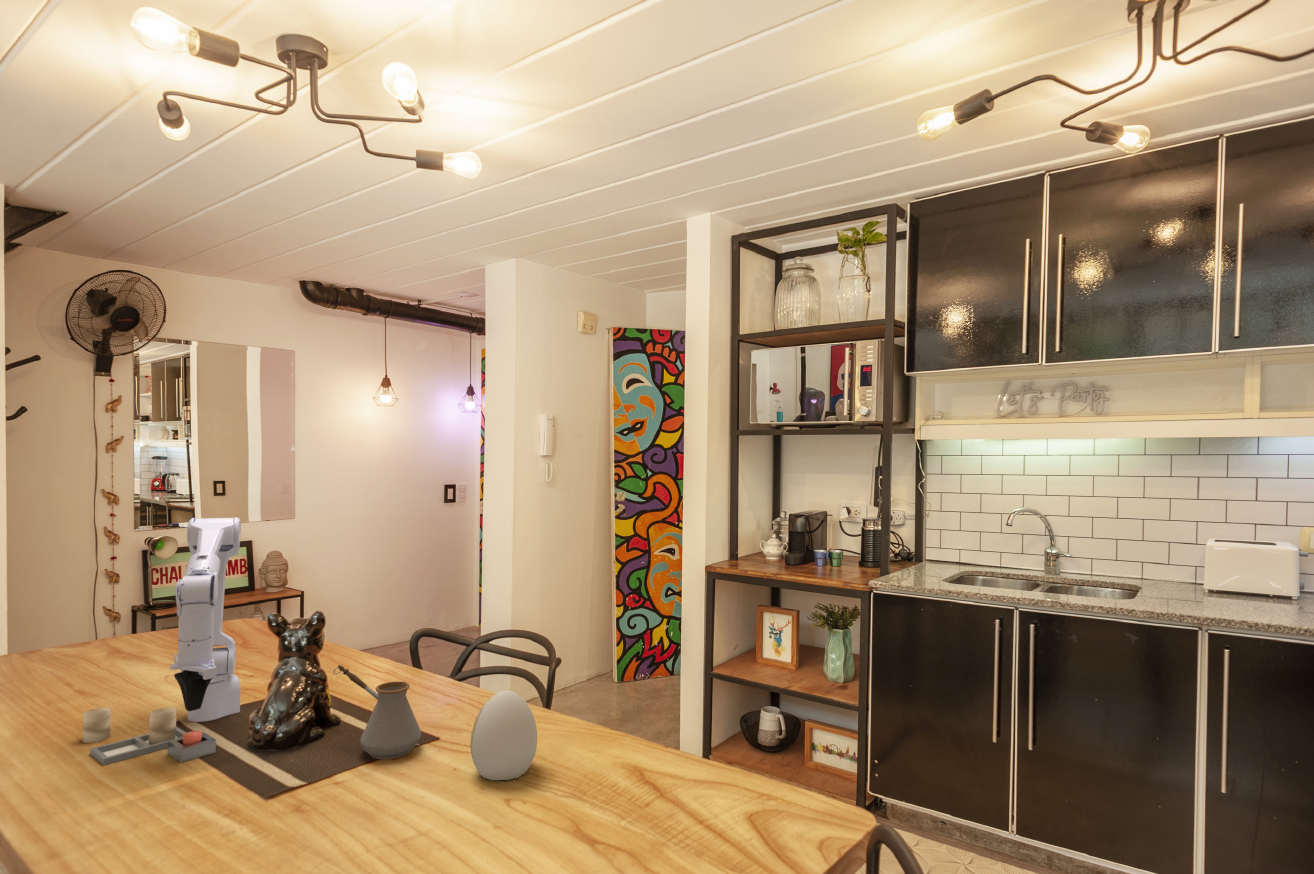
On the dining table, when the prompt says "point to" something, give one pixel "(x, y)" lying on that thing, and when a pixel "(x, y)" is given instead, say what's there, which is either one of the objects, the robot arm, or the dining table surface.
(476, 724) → the decorative egg
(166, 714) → the cylinder
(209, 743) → the button housing
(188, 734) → the button
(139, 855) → the dining table surface
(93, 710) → the billet
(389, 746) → the coffee pot
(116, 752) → the shallow grey tray
